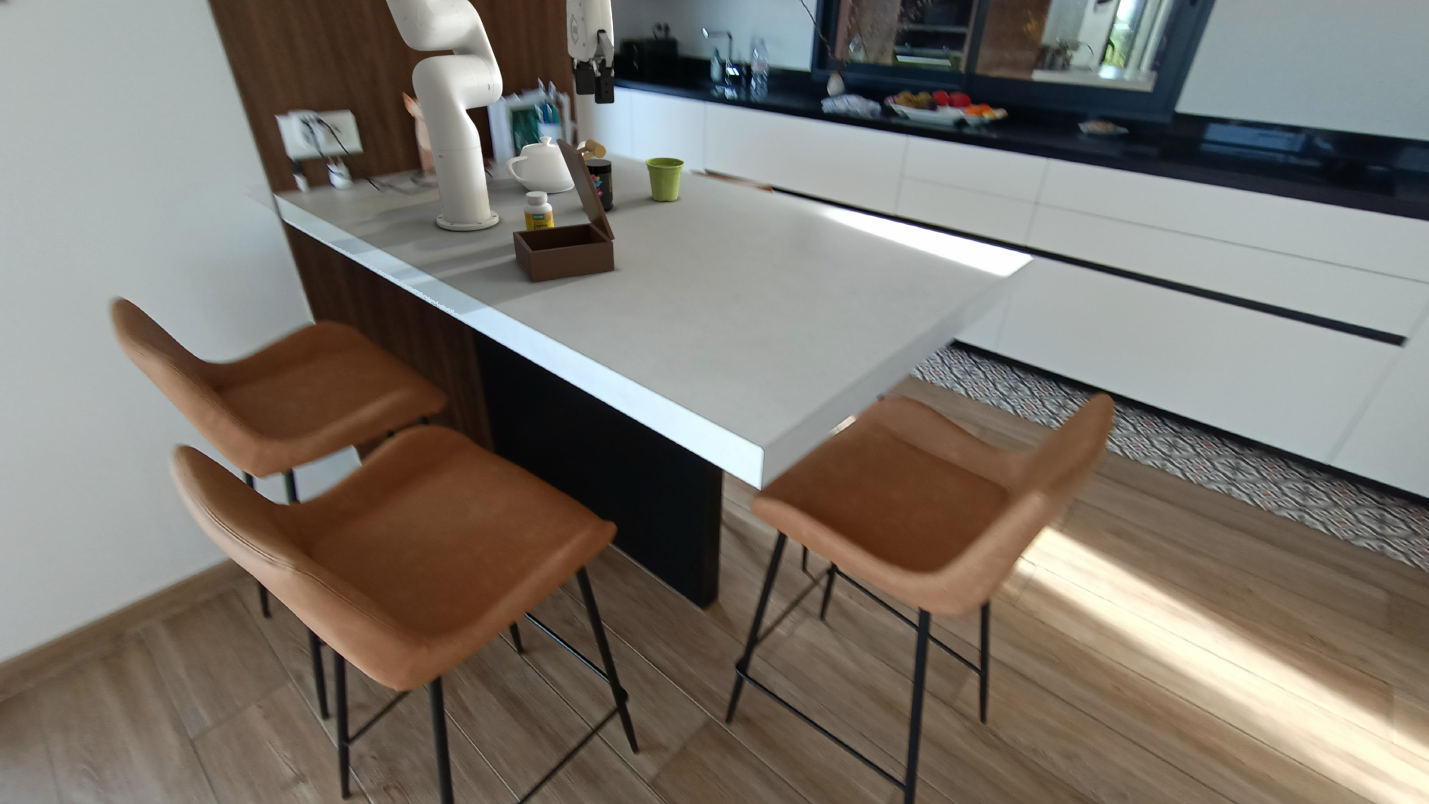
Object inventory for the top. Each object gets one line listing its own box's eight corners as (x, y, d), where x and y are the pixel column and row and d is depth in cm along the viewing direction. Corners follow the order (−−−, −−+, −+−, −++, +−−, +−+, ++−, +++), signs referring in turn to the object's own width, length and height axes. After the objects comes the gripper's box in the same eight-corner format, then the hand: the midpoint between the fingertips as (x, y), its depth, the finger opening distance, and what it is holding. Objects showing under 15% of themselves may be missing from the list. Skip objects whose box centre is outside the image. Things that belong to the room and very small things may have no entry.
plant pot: (691, 197, 163) (692, 161, 159) (669, 206, 157) (669, 168, 152) (661, 191, 167) (660, 155, 163) (638, 199, 161) (637, 162, 156)
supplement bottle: (549, 236, 136) (544, 188, 130) (559, 243, 132) (555, 195, 127) (524, 240, 133) (518, 192, 128) (533, 248, 129) (527, 199, 124)
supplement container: (582, 205, 154) (578, 159, 149) (610, 204, 156) (608, 158, 151) (587, 214, 149) (584, 166, 143) (616, 212, 151) (614, 165, 145)
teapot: (530, 203, 154) (523, 148, 148) (492, 190, 163) (484, 137, 156) (610, 185, 170) (608, 135, 164) (572, 173, 179) (568, 125, 172)
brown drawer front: (577, 154, 108) (608, 140, 109) (556, 139, 117) (585, 127, 118) (611, 240, 118) (639, 227, 119) (589, 221, 127) (615, 208, 128)
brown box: (532, 282, 115) (529, 253, 112) (516, 259, 124) (512, 231, 121) (614, 270, 121) (613, 242, 118) (593, 249, 130) (591, 222, 127)
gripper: (548, -24, 106) (558, 92, 116) (582, -22, 94) (590, 108, 103) (593, -22, 109) (599, 90, 119) (631, -20, 97) (634, 106, 106)
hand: (594, 98), depth 111 cm, fingers open, 9 cm apart
